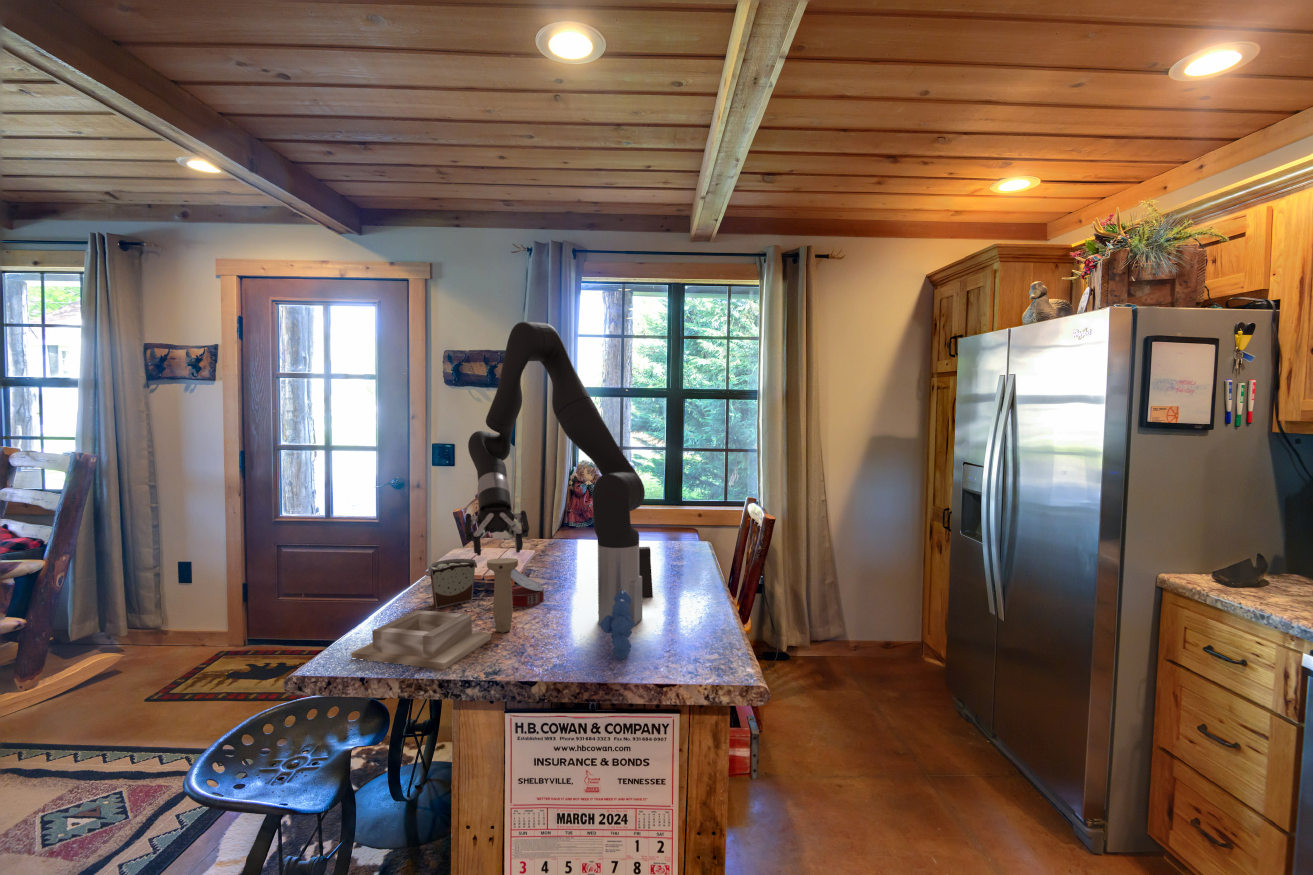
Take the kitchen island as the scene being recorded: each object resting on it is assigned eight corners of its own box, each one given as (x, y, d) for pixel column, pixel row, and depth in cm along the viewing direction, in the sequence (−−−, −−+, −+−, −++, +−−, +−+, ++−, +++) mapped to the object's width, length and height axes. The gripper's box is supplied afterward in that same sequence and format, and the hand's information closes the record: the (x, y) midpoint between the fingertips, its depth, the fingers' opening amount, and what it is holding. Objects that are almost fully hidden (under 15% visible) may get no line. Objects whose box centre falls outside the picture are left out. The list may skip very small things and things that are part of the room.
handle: (517, 633, 126) (516, 562, 126) (485, 635, 125) (485, 563, 125) (520, 626, 131) (519, 557, 130) (489, 627, 130) (489, 558, 130)
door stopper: (652, 597, 152) (652, 550, 152) (629, 599, 151) (628, 551, 150) (647, 588, 161) (647, 543, 160) (625, 589, 160) (624, 544, 159)
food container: (466, 594, 156) (465, 555, 156) (477, 598, 152) (477, 559, 152) (419, 604, 147) (418, 563, 147) (430, 609, 143) (429, 567, 143)
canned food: (520, 613, 155) (531, 575, 159) (547, 616, 149) (558, 576, 153) (487, 602, 147) (499, 562, 151) (514, 605, 141) (526, 563, 145)
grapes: (603, 643, 120) (602, 584, 120) (636, 643, 120) (636, 584, 120) (595, 667, 108) (595, 601, 108) (633, 667, 108) (632, 601, 108)
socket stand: (491, 638, 123) (490, 613, 123) (444, 669, 108) (444, 640, 108) (407, 630, 128) (407, 606, 128) (351, 659, 113) (350, 631, 113)
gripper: (463, 487, 140) (466, 545, 130) (525, 484, 145) (532, 540, 135) (462, 506, 145) (465, 564, 135) (522, 503, 150) (529, 558, 140)
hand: (499, 552), depth 135 cm, fingers open, 8 cm apart
